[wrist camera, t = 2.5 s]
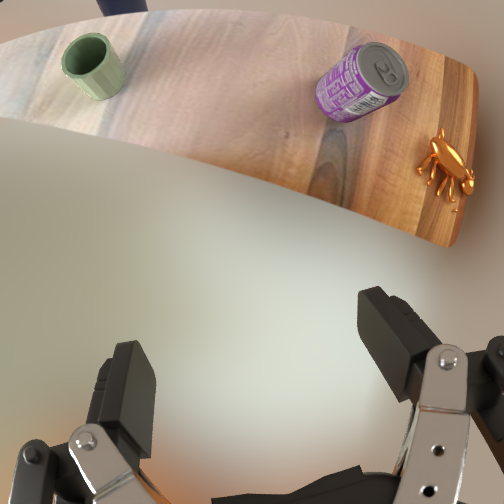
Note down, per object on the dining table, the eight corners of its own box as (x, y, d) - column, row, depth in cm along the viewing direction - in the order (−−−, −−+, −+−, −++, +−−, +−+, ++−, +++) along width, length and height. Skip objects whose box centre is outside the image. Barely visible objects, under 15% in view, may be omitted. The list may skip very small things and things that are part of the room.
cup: (78, 99, 33) (54, 78, 25) (91, 59, 32) (71, 33, 24) (118, 102, 34) (100, 79, 26) (131, 62, 33) (117, 33, 25)
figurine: (460, 214, 44) (478, 154, 41) (472, 219, 41) (492, 156, 38) (405, 187, 43) (426, 121, 40) (417, 191, 39) (439, 120, 36)
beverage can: (371, 108, 39) (423, 83, 27) (335, 133, 39) (383, 111, 27) (340, 67, 37) (384, 30, 26) (302, 89, 37) (339, 52, 25)
